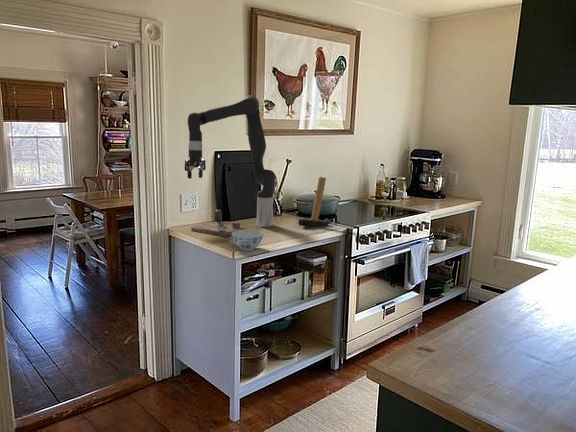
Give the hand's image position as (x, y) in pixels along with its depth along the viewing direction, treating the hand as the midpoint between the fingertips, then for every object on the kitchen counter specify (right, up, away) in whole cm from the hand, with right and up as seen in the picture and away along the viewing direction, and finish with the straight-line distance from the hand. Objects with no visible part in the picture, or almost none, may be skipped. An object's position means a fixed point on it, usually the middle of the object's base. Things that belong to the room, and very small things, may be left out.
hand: (195, 178), depth 257 cm
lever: (+15, -28, -7) cm, 32 cm away
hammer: (+68, -28, +13) cm, 75 cm away
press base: (+14, -30, -5) cm, 33 cm away
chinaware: (+33, -37, -40) cm, 64 cm away
